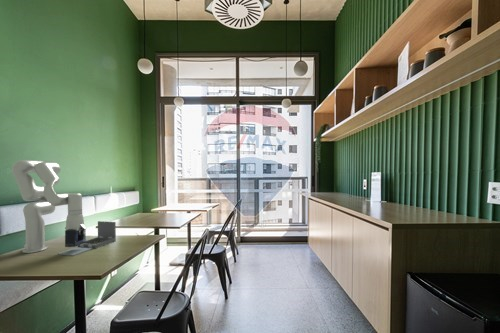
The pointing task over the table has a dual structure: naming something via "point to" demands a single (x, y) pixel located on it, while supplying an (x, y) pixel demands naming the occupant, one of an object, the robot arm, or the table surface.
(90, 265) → the table surface
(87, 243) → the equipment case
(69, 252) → the rubber mat
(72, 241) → the small box
